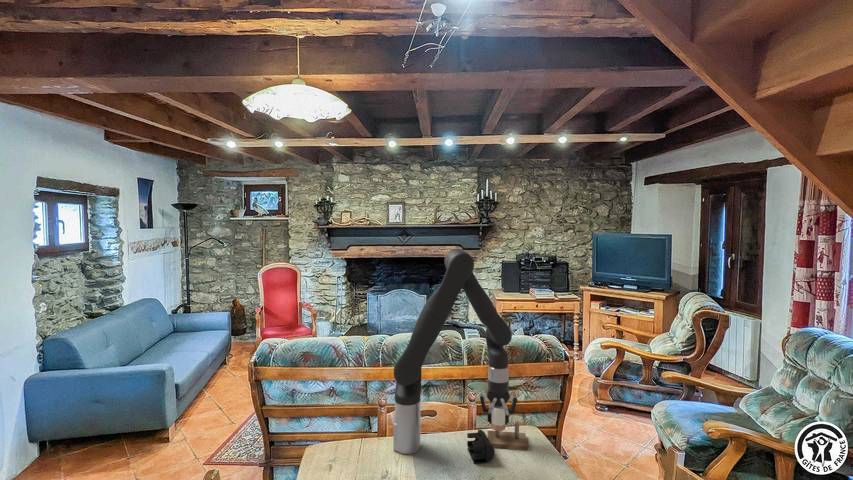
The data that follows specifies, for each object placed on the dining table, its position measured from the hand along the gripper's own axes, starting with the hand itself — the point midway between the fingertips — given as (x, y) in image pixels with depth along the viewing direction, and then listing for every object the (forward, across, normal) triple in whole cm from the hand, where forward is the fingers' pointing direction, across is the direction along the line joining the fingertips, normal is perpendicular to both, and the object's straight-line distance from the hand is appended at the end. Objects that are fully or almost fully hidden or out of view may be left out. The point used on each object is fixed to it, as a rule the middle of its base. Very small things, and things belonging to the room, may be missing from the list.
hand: (498, 423), depth 145 cm
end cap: (+7, -7, -10) cm, 14 cm away
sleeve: (+2, 0, 0) cm, 2 cm away
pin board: (+7, +3, 0) cm, 7 cm away
